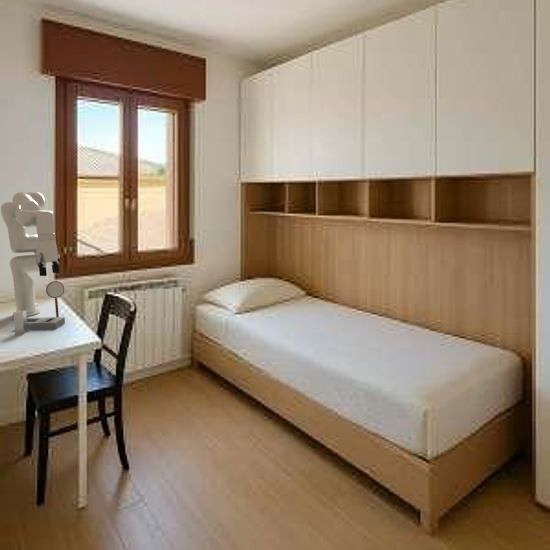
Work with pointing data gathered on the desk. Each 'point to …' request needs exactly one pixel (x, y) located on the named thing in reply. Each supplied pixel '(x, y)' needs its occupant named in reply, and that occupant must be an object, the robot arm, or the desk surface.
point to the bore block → (45, 322)
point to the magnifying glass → (55, 292)
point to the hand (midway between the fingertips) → (49, 274)
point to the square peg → (20, 322)
